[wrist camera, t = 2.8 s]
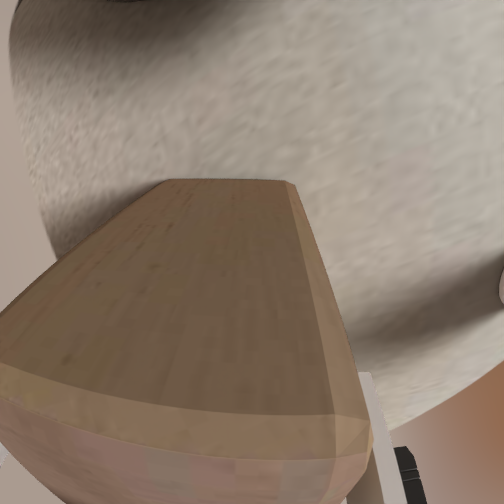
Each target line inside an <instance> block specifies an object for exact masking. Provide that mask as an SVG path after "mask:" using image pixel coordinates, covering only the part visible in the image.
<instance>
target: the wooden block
mask: <svg viewBox="0 0 504 504" xmlns="http://www.w3.org/2000/svg"><path fill="white" fill-rule="evenodd" d="M373 441H374V437H373V431H372V426H371V421H370V417H369V413H368V409H367V405H366V402H365V398H364V394H363V390H362V387H361V383H360V379H359V376H358V372H357V369H356V365H355V362H354V358H353V355H352V351H351V348H350V345H349V341H348V338H347V335H346V331H345V328H344V325H343V322H342V318H341V315H340V312H339V309H338V306H337V303H336V299H335V296H334V293H333V290H332V287H331V284H330V281H329V278H328V275H327V272H326V269H325V266H324V264H323V261H322V258H321V255H320V252H319V249H318V246H317V244H316V241H315V238H314V235H313V232H312V230H311V227H310V224H309V221H308V219H307V216H306V213H305V211H304V208H303V205H302V203H301V200H300V197H299V195H298V192H297V190H296V187H295V185H293V184H291V183H289V182H286V181H280V180H251V179H169V180H167V181H164V182H162V183H160V184H159V185H157V186H156V187H154V188H153V189H151V190H150V191H148V192H147V193H146V194H144V195H143V196H141V197H140V198H138V199H137V200H136V201H134V202H133V203H131V204H130V205H129V206H127V207H126V208H124V209H123V210H122V211H120V212H119V213H118V214H116V215H115V216H113V217H112V218H111V219H109V220H108V221H107V222H105V223H104V224H103V225H101V226H100V227H99V228H98V229H96V230H95V231H94V232H92V233H91V234H90V235H89V236H87V237H86V238H85V239H83V240H82V241H81V242H80V243H78V244H77V245H76V246H75V247H73V248H72V249H71V250H70V251H69V252H67V253H66V254H65V255H64V256H63V257H61V258H60V259H59V260H58V261H57V262H55V263H54V264H53V265H52V266H51V267H50V268H49V269H48V270H46V271H45V272H44V273H43V274H42V275H40V276H39V277H38V278H37V279H36V280H35V281H34V282H33V283H31V284H30V285H29V286H28V287H27V288H26V289H25V290H24V291H23V292H22V293H21V294H19V296H17V297H16V298H15V299H14V300H13V301H12V302H11V303H10V304H9V305H8V306H7V307H6V308H5V309H4V310H3V311H2V312H1V313H0V442H1V443H2V445H3V446H4V447H5V448H6V449H7V450H8V451H9V452H10V453H11V454H12V455H13V456H14V457H15V458H16V459H17V460H18V461H19V462H20V464H22V465H23V466H24V467H25V468H26V469H27V470H28V471H29V472H30V473H31V474H32V475H33V476H34V477H35V478H36V479H37V480H38V481H39V482H41V483H42V484H43V485H44V486H45V487H47V488H48V489H49V490H50V491H51V492H52V493H53V494H55V495H56V496H57V497H58V498H60V499H61V500H62V501H63V502H65V503H66V504H340V503H341V502H342V501H343V500H344V499H345V497H346V496H347V495H348V494H349V492H350V491H351V490H352V489H353V487H354V486H355V485H356V483H357V482H358V481H359V479H360V478H361V477H362V475H363V474H364V473H365V471H366V468H367V464H368V461H369V457H370V453H371V449H372V445H373Z"/></svg>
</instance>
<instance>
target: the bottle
mask: <svg viewBox="0 0 504 504" xmlns="http://www.w3.org/2000/svg"><path fill="white" fill-rule="evenodd" d="M499 296H500V299H501V301H502V303H503V304H504V270H503V272H502V275H501V279H500V283H499Z"/></svg>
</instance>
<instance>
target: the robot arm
mask: <svg viewBox="0 0 504 504" xmlns="http://www.w3.org/2000/svg"><path fill="white" fill-rule="evenodd" d="M108 1H115V2H132V1H141V0H108ZM358 376H359V379H360V383H361V387H362V390H363V394H364V398H365V402H366V405H367V409H368V413H369V417H370V421H371V426H372V431H373V437H374V441H373V445H372V449H371V453H370V457H369V461H368V464H367V468H366V471H365V473H364V474H363V475H362V477H361V478H360V479H359V481H358V482H357V483H356V485H355V486H354V487H353V489H352V490H351V491H350V492H349V494H348V495H347V496H346V498H347V504H427V502H426V497H425V494H424V490H423V486H422V483H421V480H420V479H419V478H420V476H419V472H418V470H417V465H416V462H415V459H414V456H413V455H412V453H411V452H410V451H409V450H408V448H407V447H406V446H404V447H396V448H393V445H392V442H391V438H390V435H389V431H388V428H387V424H386V421H385V418H384V414H383V411H382V408H381V405H380V401H379V398H378V395H377V392H376V389H375V386H374V382H373V379H372V376H371V373H370V372H358ZM8 452H9V451H8V450H7V449H6V448H5V447H4V446H3V445H2V443H1V442H0V467H1V465H2V463H3V461H4V460H5V458H6V456H7V454H8Z"/></svg>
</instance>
